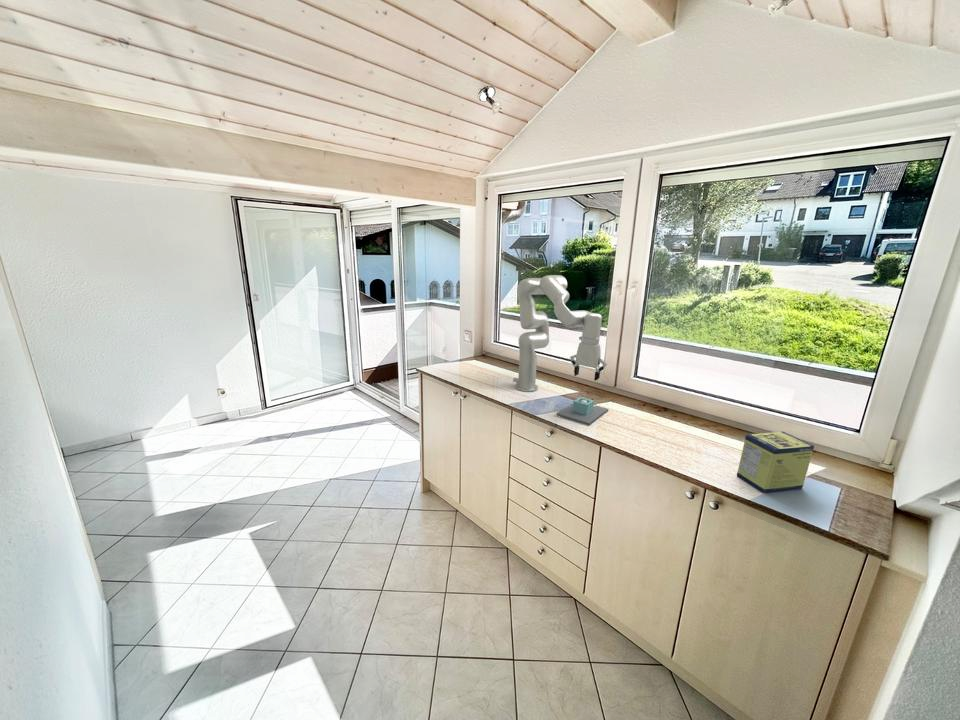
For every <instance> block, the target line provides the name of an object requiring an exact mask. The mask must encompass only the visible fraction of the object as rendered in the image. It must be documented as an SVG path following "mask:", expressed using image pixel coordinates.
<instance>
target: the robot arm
mask: <svg viewBox="0 0 960 720" xmlns="http://www.w3.org/2000/svg"><path fill="white" fill-rule="evenodd" d="M567 288H568V281H567V279H566V277H565V276H563V275H562V274H561V275H560V274H559V275H558V274H550V275H548V274H547V275H544V276H543V277H529V278H528V277H527V278H525V279H524V278H523V279H522V280H521V281H520V282H519V283H518V285H517V290H516V294H517V300H518V303H519V322H520V326H521V328H522V329H523V330H535V331H527V332H524V333H522V334H520V335H519V337H518V351H519V363H518V364H519V365H518V377H513V380H512V382H513V383H516V384H515V385H514V387H515V389H516V390H517V391H520V392H531V393H532V392H535V391H537V390H538V389H539V387H538V385H537V384H536V380H537V377H536V376H537V366H538V365H537V363H538V357H537V353H536V351H535V350H539V349H544V348H546V347H547V346H549V343H550V325H549V317H548V315H547V314H546V312H544V311H541V310H536V302H535V299H534V298H533V295H536V296H537V295H545V296H547V298H548V299H549V300H550V301H551V303H553V305H554V306H553V309H554V310H553V311H554V315H555V317H556V319H558V321H559V322H560V323H561V324H562V326H564V327H566V328H569V329H572V328H573V329H575V328H582V335H581V336H579V337H578V339H579V340H580V342H579V343H578V347H577V351H576V354H574V355H571V356H569V359H570V361H571V364H572V365H573V368H574V369H573V374H574V375H573V376H575V377H576V376H578V375H579V373H580V366H583V367H587V368H592V369H594V370H595V371H594V378H593V379H594V381H598V380H599V379H600V376H601V371H603V370H604V369H605V368H606V367H607V365H608V362H606V361H605V360H603V359H602V358H601V356H602V355H601V353H602V351H601V345H600V338H601V329H602V320H603V316H602V314H600V313H597V312H591V311H588V310H586V309H585V310H584V309H583V310H581V309H580V310H571V309H569V308H568V307H567V305H566V303H567V302H568V301H569V299H570V293H569V291H568V290H567ZM600 364H601V366H600Z"/></svg>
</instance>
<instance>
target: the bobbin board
mask: <svg viewBox="0 0 960 720" xmlns="http://www.w3.org/2000/svg"><path fill="white" fill-rule="evenodd" d="M581 402H582V403H586V404H587V401H586V400H581ZM608 412H609V408H606V407H602V406H600V405H595V404H594V406H593V411H592V412H591V413H589V414H588V415H584V414H581V413H577V412H574V411H573V403H571V404H569V405H568V406H566V407H564V408H562V409H561V410H560V411H558V412H556V415H557V417H559V416H560V418H562V417H563V419H566V420H569V421H573V422H576V423H578V424H582V425H585V426H590V425H592V424H594V422H596V421H597V420H598V419H600V418H602V417H603V416H604V415H605V414H607V413H608ZM556 415H555V416H556Z"/></svg>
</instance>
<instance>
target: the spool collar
mask: <svg viewBox="0 0 960 720" xmlns="http://www.w3.org/2000/svg"><path fill="white" fill-rule="evenodd" d="M581 400H586V401H587V404H586V403H582V402H581ZM572 404H573V411H574V412H577V413H581V414H584V415H588V414H589V413H591V412H592V411H593V407H594V406H595V400H592V399H589V398H585V397H581V396H580V397H578V398H576V399H574V400H573V403H572Z"/></svg>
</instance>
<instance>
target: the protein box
mask: <svg viewBox="0 0 960 720" xmlns="http://www.w3.org/2000/svg"><path fill="white" fill-rule="evenodd" d="M814 447H815V445H813V444H812V443H808V442H807V441H804V439H803V440H802V439H800V438H798V437H796V436H793V434H792V435H791V434H789V433H787V432H785V431H774V432H761V433H749V434H745V438H744V443H743V446H742V452H741V456H740V459H739V460H740V461H739V464H738V468H737V472H736V476H737V478H740V479H741V480H743V481H744V482H745V483H747V484H749V485H750V486H751V487H753V488H755V489H757V490H758V491H760V492H761V493H763V494H769V493H771V494H772V493H778V492H785V491H786V492H789V491H795V490H796V491H797V490H802V489H803V487H804V484H805V480H806V476H807V474H808V473H807V472H808V470H809V465H810V462H811V459H812V456H813V452H814Z"/></svg>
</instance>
